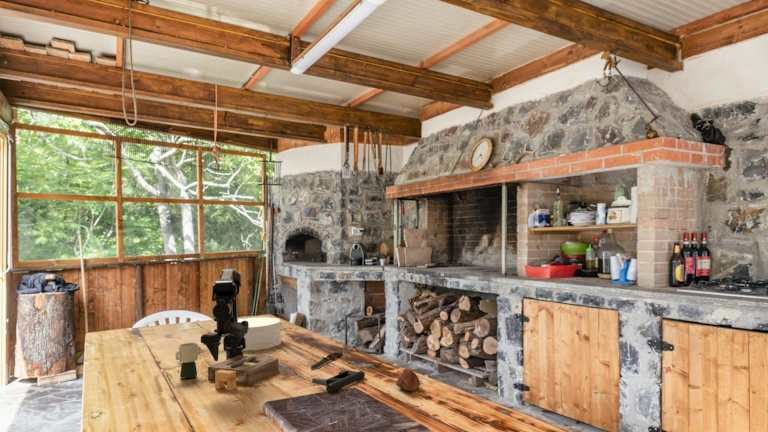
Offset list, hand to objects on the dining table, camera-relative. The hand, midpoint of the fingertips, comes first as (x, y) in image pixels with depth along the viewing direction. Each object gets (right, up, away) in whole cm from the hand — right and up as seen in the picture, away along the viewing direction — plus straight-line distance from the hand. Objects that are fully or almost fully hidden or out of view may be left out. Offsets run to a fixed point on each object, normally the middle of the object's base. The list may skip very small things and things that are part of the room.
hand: (225, 357), depth 170 cm
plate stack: (-9, -15, +69) cm, 72 cm away
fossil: (+67, -9, -8) cm, 68 cm away
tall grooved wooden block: (0, -11, -1) cm, 11 cm away
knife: (+33, -12, +31) cm, 47 cm away
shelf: (+2, -12, +15) cm, 19 cm away
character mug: (-19, -12, +14) cm, 27 cm away
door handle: (+40, -11, +2) cm, 42 cm away
